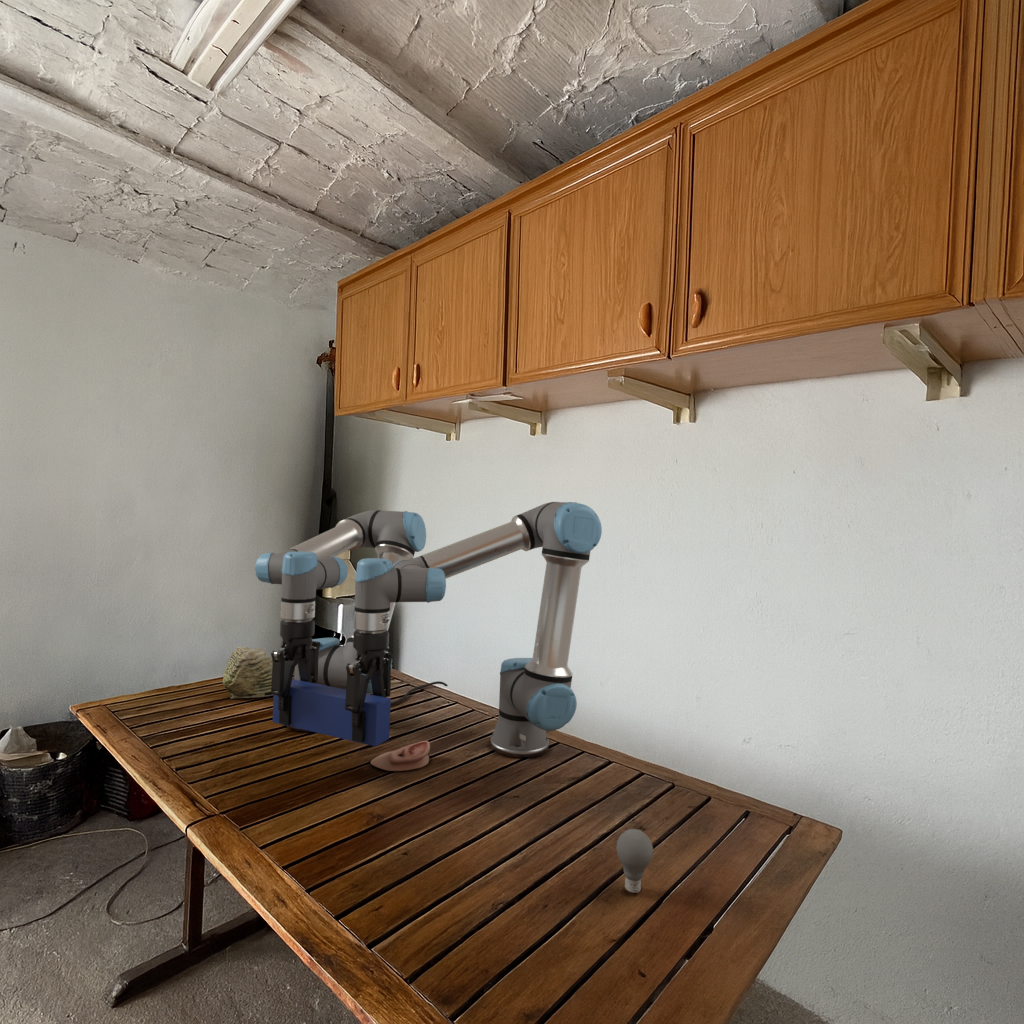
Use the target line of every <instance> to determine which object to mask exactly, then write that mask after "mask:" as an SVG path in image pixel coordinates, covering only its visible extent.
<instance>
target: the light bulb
mask: <svg viewBox="0 0 1024 1024" xmlns="http://www.w3.org/2000/svg"><path fill="white" fill-rule="evenodd" d="M615 849H616V854H617V857H618V859H619V861H620V863H621V865H622V867H623V873H624V874H623V875H624V876H625V878H624V888H625V890H627V891H628V892H630V893H634V894H635V893H639V892H640V891H641V889H642V887H641V886H642V879H643V877H644V875H645V871H646V868H647V867H648V866H649V864H650V863H651V861H652V859H653V855H654V847H653V843H652V841H651V838H649V836H648V835H647V834H646V833H645V832H643V831H642V830H641V829H636V828H629V829H627V830H625V831H623V832H622V833H621V834H620V835H619V837H618V839H617V841H616V847H615Z"/></svg>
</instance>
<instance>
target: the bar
mask: <svg viewBox="0 0 1024 1024" xmlns="http://www.w3.org/2000/svg"><path fill="white" fill-rule="evenodd" d="M289 695H291V696H292V701H291V724H290V725H287V726H291V727H295V728H299V729H304V730H308V731H312V732H311V733H317V734H321V735H326V736H328V737H333V738H338V739H342V740H346V741H350V742H354V743H358V744H363V745H366V746H372V747H377V746H379V745H381V744H382V743H384V742H386V741H388V740H390V728H391V706H392V705H391V702H392V698H390V697H386V698H385V697H380V696H375V695H373V694H366V698H365V703H364V707H363V711H366V714H365V739H364V742H363V743H361V742H356V741H352V711H348V710H345V701H346V690H345V689H340V688H335V687H330V686H325V685H320V684H315V683H310V682H305V681H300V680H295V679H294V678H292V682H291V687H290V692H289ZM278 699H279V697H278V695H273V699H272V700H273V702H272V703H273V704H272V723H274V724H279V725H282V726H283V725H284V726H286V725H285V724H281V723H279V711H280V710H279V709H278ZM358 706H359V705H358ZM287 726H286V727H287Z"/></svg>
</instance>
